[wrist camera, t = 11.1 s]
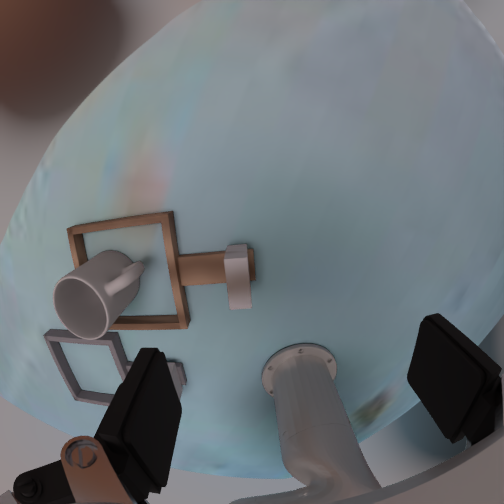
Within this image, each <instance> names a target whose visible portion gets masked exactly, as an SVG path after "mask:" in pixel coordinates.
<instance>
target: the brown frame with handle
mask: <svg viewBox="0 0 504 504" xmlns="http://www.w3.org/2000/svg"><path fill="white" fill-rule="evenodd" d="M153 223H161V224H162V231H163V238H164V244H165V251H166V257H167V263H168V269H169V274H170V280H171V285H172V290H173V295H174V300H175V305H176V310H177V315H160V316H119V317H118V318H117V319H116V321H115V322H114V323H113V324H112V326H111V327H110V328H109V329H108V330H166V329H188V326H189V323H190V315H189V310H188V305H187V300H186V294H185V289H184V286H188V285H202V284H215V283H227V291H228V299H229V306H230V310H234V309H246V308H252V302H251V286H250V281H252V280H256V278H255V266H254V254H253V249H247V244H240V245H228V246H227V248H226V251H219V252H208V253H197V254H185V255H179V252H178V246H177V239H176V232H175V224H174V216H173V211H169V212H161V213H153V214H145V215H138V216H131V217H124V218H117V219H111V220H104V221H98V222H92V223H86V224H80V225H75V226H72V227H70V228H67V233H68V239H69V244H70V249H71V253H72V258H73V262H74V267H75V269H76V268H78V267H79V266H81V265H82V264H84V263H86V262H87V256H86V251H85V246H84V241H83V236H82V233H87V232H93V231H100V230H107V229H114V228H122V227H129V226H137V225H145V224H153Z"/></svg>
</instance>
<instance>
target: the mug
mask: <svg viewBox="0 0 504 504" xmlns="http://www.w3.org/2000/svg"><path fill="white" fill-rule="evenodd" d="M144 269H145V268H144V265H143V263H142V262H141V261H137V262H135V263H133V262H132V261H131V260H130V259H129V258H128V257H127V256H125V255H124V254H122V253H120V252H117V251H112V250H109V251H104V252H101V253H99V254H98V255H96V256H95V257H93V258H92V259H90V260H89V261H87V262H86V263H84V264H82V265H81V266H79V267H78V268H76V269H75V270H73V271H71V272H70V273H68V274H67V275H65V276H64V277H62V278H61V279H60V280H59V281H58V282H57V284H56V286H55V288H54V292H53V303H54V308H55V311H56V313H57V315H58V317H59V319H60V321H61V322H62V323H63V325H64V326H65V327H66V328H67V329H68V330H69V331H70V332H71V333H73V334H74V335H76V336H78V337H80V338H83V339H87V340H95V339H98V338H100V337H102V336H103V335H104V334H105V333H106V332H107V331H108V329H109V328H110V327H111V326H112V324H113V323H114V322H115V321H116V319H117V318H118V317H119V316H120V314H121V313H122V312H123V311H124V309H125V308H126V307H127V306H128V305H129V304H130V302H131V301H132V300H133V299H134V298H135V296H136V295H137V293H138V290H139V284H140V281H139V276H140V275H141V274H142V273H143V272H144Z"/></svg>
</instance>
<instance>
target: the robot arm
mask: <svg viewBox="0 0 504 504" xmlns="http://www.w3.org/2000/svg"><path fill="white" fill-rule="evenodd" d="M501 369H502V368H501V367H500V366H499V365H498V364H496V363H495V362H494V361H493V360H492V359H491V358H490V357H489V356H488V355H487V354H486V353H485V352H483V351H482V350H481V349H480V348H479V347H478V346H477V345H476V344H475V343H473V342H472V341H471V340H470V339H469V338H468V337H467V336H465V335H464V334H463V333H462V332H461V331H460V330H458V329H457V328H456V327H455V326H454V325H453V324H451V323H450V322H449V321H448V320H447V319H445V318H444V317H443V316H442V315H440V314H439V313H436V314H432V315H428V316H426V317H425V318H424V319H423V321H422V322H421V324H420V328H419V332H418V336H417V341H416V345H415V349H414V353H413V356H412V360H411V364H410V367H409V371H408V374H407V380H408V383H409V384H410V386H411V387H412V389H413V390H414V391H415V393H416V394H417V396H418V397H419V399H420V400H421V401H422V403H423V405H424V406H425V407H426V409H427V410H428V412H429V413H430V415H431V416H432V418H433V419H434V421H435V423H436V424H437V426H438V427H439V429H440V430H441V432H442V433H443V435H444V436H445V438H447V439H450V441H451V442H452V443H455V442H457V441H459V440H461V439H463V437H464V436H466V437H467V442H466V448H465V451H463V452H461V453H459V454H458V455H456V456H454V457H452V458H450V459H449V460H447V461H445V462H443V463H441V464H439V465H437V466H435V467H433V468H430V469H428V470H426V471H424V472H422V473H419V474H417V475H415V476H412V477H410V478H408V479H405V480H403V481H400V482H398V483H395V484H392V485H389V486H386V487H384V488H382V487H381V486H380V484H379V482H378V481H377V480H376V478H375V476H374V475H373V473H372V471H371V470H370V468H369V466H368V464H367V462H366V460H365V458H364V456H363V454H362V451H361V449H360V447H359V444H358V442H357V439H356V437H355V434H354V432H353V429H352V426H351V424H350V421H349V419H348V416H347V414H346V411H345V409H344V406H343V404H342V401H341V399H340V396H339V394H338V391H337V389H336V386H335V384H334V379H335V377H336V373H337V364H336V361H335V359H334V357H333V355H332V354H331V353H330V352H329V351H328V350H327V349H325V348H323V347H321V346H319V345H314V344H297V345H293V346H289V347H287V348H284V349H282V350H280V351H279V352H277V353H276V354H274V355H273V356H272V357H271V358H270V359H269V360H268V361H267V363H266V364H265V366H264V368H263V371H262V384H263V386H264V389H265V390H266V392H267V393H268V394H269V395H271V396H272V397H274V402H275V410H276V417H277V425H278V432H279V440H280V447H281V454H282V460H283V463H284V466H285V468H286V469H287V471H288V472H289V473H290V474H291V475H292V476H293V477H294V478H296V479H297V480H298V481H300V482H302V483H303V484H305V485H306V486H307V487H303V488H299V489H297V490H293V491H288V492H282V493H276V494H269V495H263V496H254V497H247V498H242V499H238V500H235V501H233V502H231V503H229V504H504V374H503V375H502V377H501V378H500V377H499V374H500V372H501ZM181 414H182V407H181V403H180V400H179V397H178V394H177V392H176V389H175V386H174V383H173V380H172V376H171V373H170V370H169V367H168V364H167V360H166V357H165V354H164V353H163V352H160V351H159V349H158V348H141V349H140V351H139V353H138V354H137V356H136V358H135V360H134V362H133V364H132V366H131V368H130V370H129V372H128V373H127V375H126V377H125V379H124V381H123V383H121V384H120V385H119V387H118V389H117V391H116V393H115V395H114V397H113V399H112V401H111V403H110V405H109V407H108V409H107V411H106V413H105V415H104V417H103V419H102V421H101V423H100V425H99V427H98V429H97V432H96V434H95V436H94V438H93V437H89V436H78V437H74V438H72V439H70V440H69V441H68V442H66V443H65V445H64V446H63V448H62V450H61V460H59V461H56V462H53V463H51V464H48V465H45V466H42V467H39V468H37V469H33V470H30V471H27V472H24V473H22V474H20V475H19V476H18V477H17V478H16V480H15V482H14V486H13V491H14V492H11V491H10V490H8V491H6V492H5V493H3V494H2V495H1V496H0V504H149V502H148V501H147V500H146V499H147V498H148V495H149V492H152V493H158V494H160V492H161V487H165V486H166V485H167V481H168V476H169V471H170V466H171V461H172V456H173V451H174V447H175V442H176V437H177V432H178V428H179V423H180V419H181Z"/></svg>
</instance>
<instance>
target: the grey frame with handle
mask: <svg viewBox="0 0 504 504" xmlns="http://www.w3.org/2000/svg"><path fill="white" fill-rule="evenodd" d="M43 336H44V338H45V341H46V343H47V345H48V348H49V350H50V352H51V355H52V357H53V359H54V361H55V363H56V365H57V367H58V369H59V371H60V373H61V375H62V377H63V379H64V381H65V383H66V385H67V387H68V389H69V390H70V392H71V394H72V396H73V397H74V399H75V400H77V401H82V402H87V403H93V404H98V405H105V406H109V405H110V403H111V401H112V399H113V397H114V395H111V394H103V393H96V392H90V391H84V390H81V389H80V387H79V385H78V383H77V381H76V379H75V377H74V375H73V373H72V371H71V369H70V367H69V365H68V363H67V360H66V358H65V356H64V354H63V351H62V349H61V347H60V344H59V342H67V343H78V344H92V345H108V346H109V348H110V351H111V354H112V356H113V359H114V361H115V364H116V366H117V369H118V371H119V373H120V376H121V378H122V380H123V381H124V379H125V377H126V375H127V373H128V372H129V370H130V368H131V366H132V364H133V362H128V361H127V358H126V356H125V353H124V350H123V347H122V344H121V341H120V339H119V336H118V333H117V332H106V333H105V334H104V335H103V336H102V337H100V338H98V339H95V340H87V339H83V338H80V337H78V336H76V335H74V334H73V333H71V332H70V331H69V330H55V329H50V330H49V331H48V332H46V333H45V334H44V335H43ZM167 364H168V367H169V370H170V373H171V376H172V380H173V383H174V386H175V389H176V392H177V394H178V397H179V400H180V398H181V394H182V390H183V388H182V385H186V382H187V379H186V376H185V372H184V369H183V365H182V363H175V362H167Z"/></svg>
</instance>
